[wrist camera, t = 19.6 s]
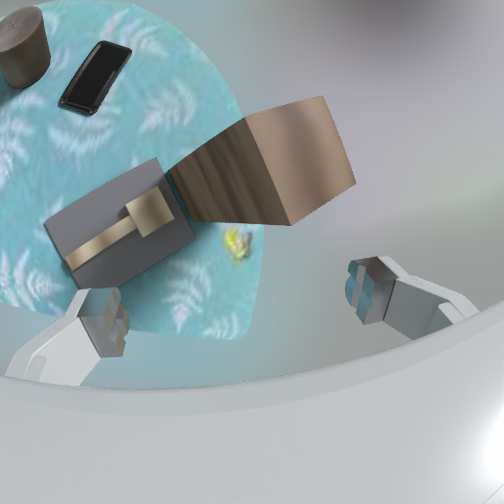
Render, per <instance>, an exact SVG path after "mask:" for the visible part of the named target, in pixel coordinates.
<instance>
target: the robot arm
mask: <svg viewBox="0 0 504 504" xmlns="http://www.w3.org/2000/svg"><path fill="white" fill-rule="evenodd" d="M348 272H349V273H350V275H351V276H350V277H349V278H348V279H347V281H346V286H345V293H346V297H347V300H348V302H349V304H350V305H351V306H353V307H355V308H357V311H356V314H357V316H358V317H359V319H360V320H361V322H362V323H363V325H366V324H370V323H375V322H379V321H383V322H385V323H386V324H388V325H390V326H391V327H393V328H394V329H396V330H397V331H399V332H401V333H402V334H404V335H405V336H407V337H408V338H410V339H412V341H410V342H407V343H404V344H401V345H398V346H395V347H392V348H389V349H386V350H383V351H380V352H376V353H373V354H370V355H366V356H363V357H360V358H356V359H352V360H349V361H345V362H341V363H337V364H333V365H329V366H325V367H320V368H316V369H311V370H307V371H302V372H297V373H292V374H287V375H281V376H276V377H270V378H263V379H257V380H250V381H243V382H235V383H227V384H217V385H207V386H195V387H180V388H156V389H117V388H93V387H80V386H79V384H80V383H81V382H82V381H83V380H84V378H85V377H86V376H87V375H88V374H89V372H90V371H91V370H92V369H93V368H94V366H95V365H96V364H97V363H98V362H99V360H100V359H101V358H100V357H122V355H123V351H124V347H125V340H124V338H123V337H124V336H125V335H126V334H128V330H129V317H128V313H127V310H126V307H125V306H123V305H122V304H121V303H120V301H121V298H122V296H121V294H120V291H119V289H118V288H117V287H107V288H92V289H91V288H89V289H80V290H78V291H77V293H76V295H75V296H74V298H73V300H72V302H71V304H70V306H69V308H68V309H67V311H66V313H65V315H64V317H63V318H59V319H58V320H56V321H55V322H54V323H52V324H51V325H50V326H48V327H47V328H46V329H45V330H43V331H42V332H41V333H39V334H38V335H37V336H35V337H34V338H33V339H32V340H30V341H29V342H28V343H27V344H25V345H24V346H23V347H22V348H20V349H19V350H18V351H17V352H16V353H15V355H14V357H13V359H12V361H11V363H10V365H9V367H8V369H7V372H6V374H5V376H4V375H0V504H504V300H503V301H500V302H499V303H497V304H495V305H493V306H491V307H489V308H487V309H485V310H483V311H481V312H480V311H478V309H477V308H475V306H474V305H473V304H472V303H471V302H470V301H469V300H468V299H467V298H466V297H465V296H463V295H461V294H459V293H456V292H454V291H451V290H449V289H446V288H444V287H441V286H439V285H436V284H434V283H431V282H429V281H426V280H423V279H421V278H418V277H416V276H409V275H408V274H407V273H406V272H405V271H404V270H403V269H402V268H401V267H400V266H399V265H398V264H397V263H396V262H395V261H394V260H393V259H391V258H390V257H389V256H388V255H381V256H376V257H371V258H364V259H358V260H352V261H351V262H350V264H349V267H348Z"/></svg>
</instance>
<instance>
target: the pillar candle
mask: <svg viewBox="0 0 504 504" xmlns="http://www.w3.org/2000/svg"><path fill="white" fill-rule="evenodd" d="M50 58H51V55H50V50H49V46H48V42H47V37H46V32H45V27H44V21H43V16H42V11H41V10H40V9H39V8H38V7H35V6H28V7H23V8H20V9H18V10H15V11H13V12H12V13H10V14H8V15H7V16H6V17H5V18H3V20H2V21H1V22H0V71H1V72H2V74H3V76H4V78H5V79H6V80H7V83H8V84H9V85H10V86H11V87H13V88H17V89H19V88H24V87H28V86H30V85H32V84H34V83H35V82H37V81H38V80H39V79H40V78H41V77H42V76H43V75H44V74H45V72H46V71H47V69H48V67H49V65H50Z"/></svg>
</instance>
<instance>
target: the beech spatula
mask: <svg viewBox="0 0 504 504" xmlns="http://www.w3.org/2000/svg"><path fill="white" fill-rule="evenodd" d="M125 207H126V209H127V210H128V212H129V214H130V215H129V216H127V217H125V218H124V219H122V220H121V221H119V222H117V223H116V224H114V225H113V226H111V227H110V228H108V229H106V230H105V231H103V232H102V233H100V234H99V235H97V236H96V237H94V238H93V239H91V240H90V241H88V242H87V243H85V244H84V245H82V246H81V247H79V248H78V249H76V250H75V251H74V252H72V253H71V254H69V255H68V256H67V257H65V259H66V261H67V262H68V264H69V266H70V267H71V269H72V271H73V270H74V269H76V268H77V267H79V266H80V265H81V264H83V263H84V262H86V261H87V260H89V259H90V258H92V257H93V256H94V255H96V254H97V253H99V252H100V251H102V250H103V249H105V248H106V247H108V246H109V245H111V244H113V243H114V242H116V241H117V240H119V239H120V238H122V237H123V236H125V235H127V234H128V233H130V232H131V231H133V230H135V229H136V228H137V229H138V231H139V233H140V234H141V236H142V237H145V236H147V235H148V234H150V233H151V232H153V231H155V230H156V229H158V228H160V227H161V226H163V225H165V224H166V223H168V222H170V221H171V220H173V219H174V217H173V215H172V213H171V211H170V209H169V207H168V205H167V203H166V201H165V200H164V198H163V196H162V194H161V192H160V190H159V188H158V186H157V187H156V188H154V189H152V190H150V191H148V192H147V193H145V194H143V195H141V196H140V197H138V198H136V199H134V200H133V201H131V202H129V203H128V204H126V205H125Z"/></svg>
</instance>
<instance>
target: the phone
mask: <svg viewBox="0 0 504 504" xmlns="http://www.w3.org/2000/svg"><path fill="white" fill-rule="evenodd" d="M131 55H132V50H131V49H129V48H127V47H124V46H121V45H118V44H114V43H111V42H108V41H100V42H98V43H97V45H96V46H95V47H94V49H93V50H92V51H91V53H90V54H89V55H88V57H87V58H86V59H85V61H84V62H83V64H82V65H81V67H80V68H79V70H78V71H77V73H76V74H75V76H74V77H73V79H72V80H71V82H70V83H69V85H68V87H67V88H66V90H65V92H64V93H63V95H62V97H61V99H60V102H61V104H62V105H63V106H65V107H68V108H71V109H74V110H77V111H80V112H83V113H86V114H90V115H91V114H94V113H96V112H97V110H98V108H99V107H100V105H101V103H102V101H103V100H104V98H105V97H106V95H107V93H108V92H109V89H110V88H111V86H112V84H113V83H114V81H115V79H116V78H117V76H118V75H119V73H120V72H121V70H122V69H123V67H124V66H125V64H126V63H127V61H128V60H129V58H130V57H131Z"/></svg>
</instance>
